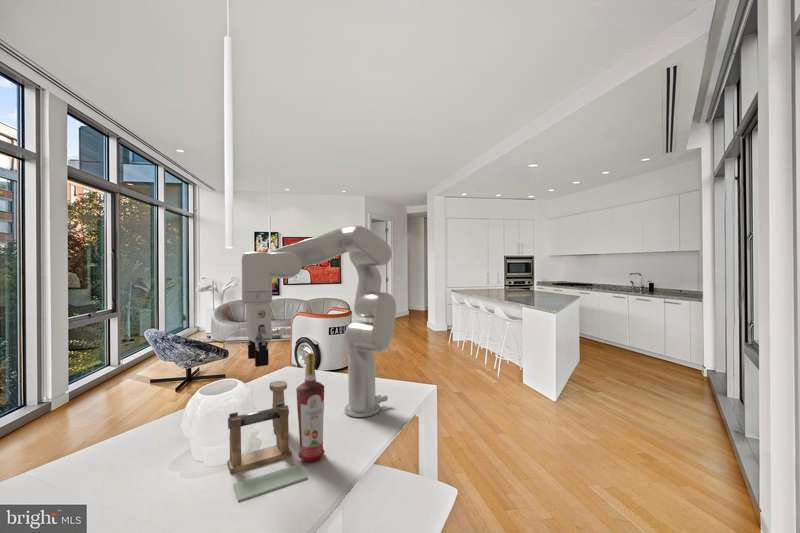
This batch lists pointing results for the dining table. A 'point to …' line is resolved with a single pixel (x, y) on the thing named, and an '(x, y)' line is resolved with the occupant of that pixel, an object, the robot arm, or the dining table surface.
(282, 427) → the hook stand
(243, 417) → the rail
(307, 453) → the liquor
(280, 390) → the handle
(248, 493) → the mat
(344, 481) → the dining table surface
